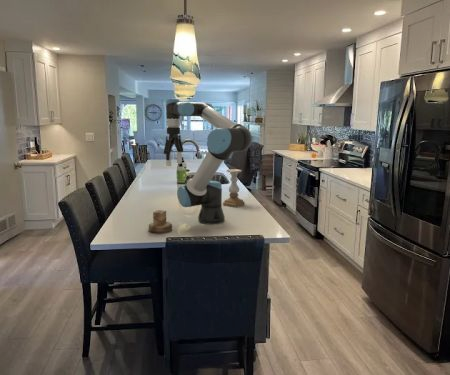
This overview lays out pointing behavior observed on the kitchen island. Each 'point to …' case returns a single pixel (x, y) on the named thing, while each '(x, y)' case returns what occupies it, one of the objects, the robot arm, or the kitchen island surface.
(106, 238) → the kitchen island surface
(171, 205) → the kitchen island surface
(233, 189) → the candle holder
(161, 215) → the walnut block
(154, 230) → the plinth
